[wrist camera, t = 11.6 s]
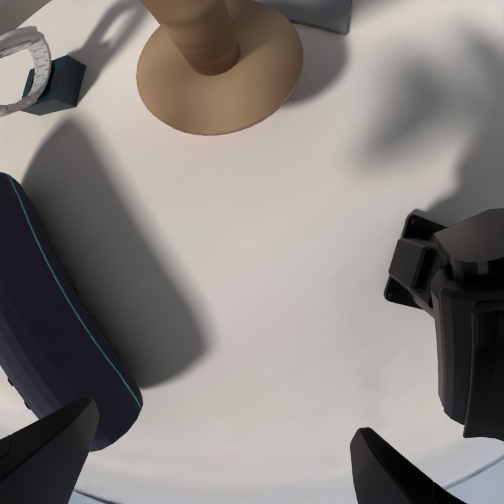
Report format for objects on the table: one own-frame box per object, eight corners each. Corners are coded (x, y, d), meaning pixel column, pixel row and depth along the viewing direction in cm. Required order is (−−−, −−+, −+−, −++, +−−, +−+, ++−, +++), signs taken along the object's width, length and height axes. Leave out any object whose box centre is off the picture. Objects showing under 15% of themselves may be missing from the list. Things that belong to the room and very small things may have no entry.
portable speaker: (-2, 221, 22) (-67, 232, 13) (37, 162, 21) (-42, 157, 11) (110, 410, 25) (64, 467, 15) (171, 386, 23) (125, 464, 13)
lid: (315, 16, 13) (335, -138, 1) (280, 152, 15) (274, -4, 2) (171, 3, 13) (90, -107, 1) (122, 125, 15) (-45, 67, 3)
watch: (91, 49, 18) (18, 3, 7) (72, 125, 20) (-22, 101, 9) (53, 62, 19) (-18, 30, 8) (35, 132, 20) (-48, 118, 9)
